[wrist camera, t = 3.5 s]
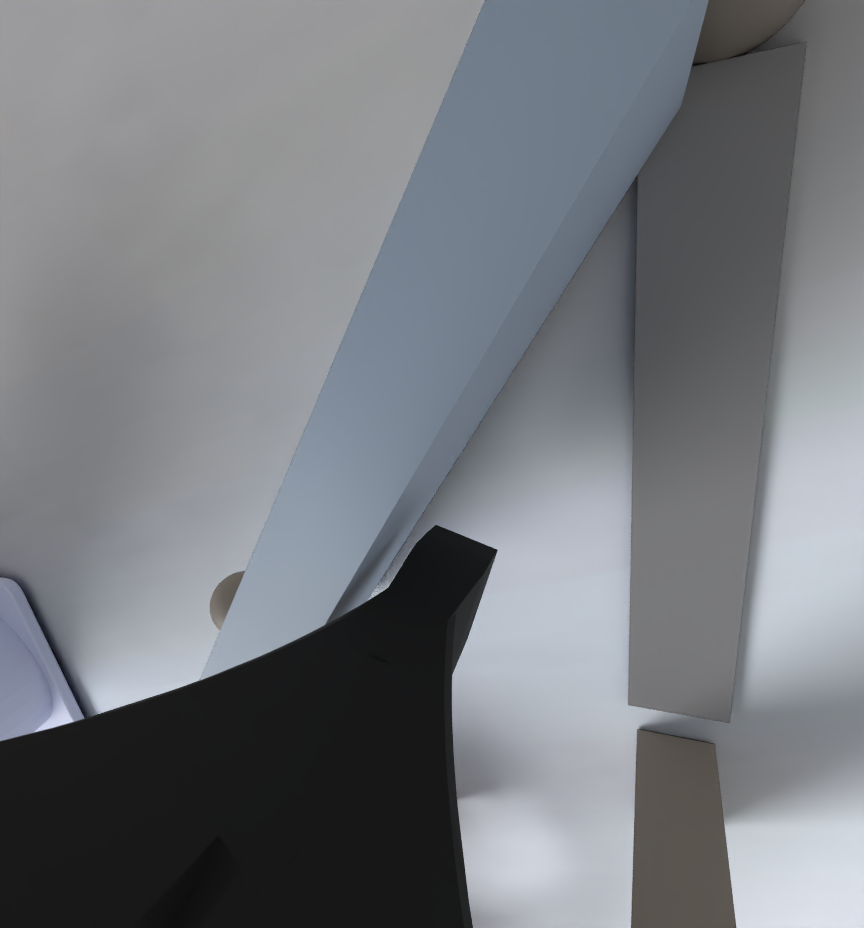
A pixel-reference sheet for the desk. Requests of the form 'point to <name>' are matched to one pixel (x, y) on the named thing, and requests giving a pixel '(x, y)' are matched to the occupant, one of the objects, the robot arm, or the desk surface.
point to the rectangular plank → (459, 291)
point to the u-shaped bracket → (702, 432)
